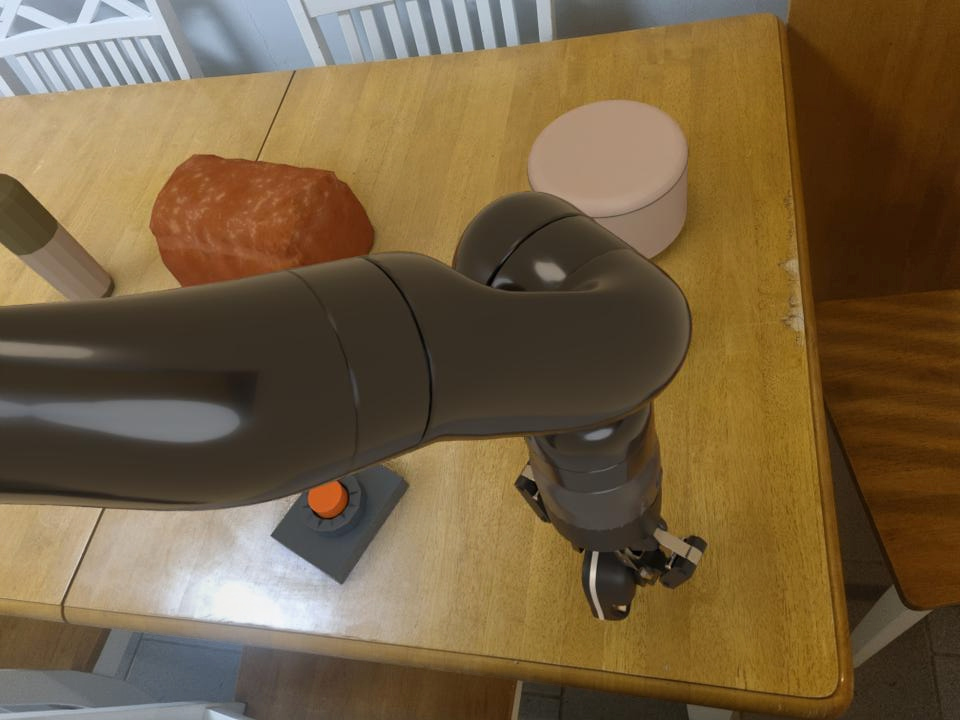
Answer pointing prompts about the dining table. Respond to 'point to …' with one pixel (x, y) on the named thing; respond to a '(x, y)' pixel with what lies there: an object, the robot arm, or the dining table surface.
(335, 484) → the power button
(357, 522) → the switch box
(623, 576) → the battery charger
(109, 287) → the bottle
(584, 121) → the container
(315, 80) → the dining table surface
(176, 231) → the bread
